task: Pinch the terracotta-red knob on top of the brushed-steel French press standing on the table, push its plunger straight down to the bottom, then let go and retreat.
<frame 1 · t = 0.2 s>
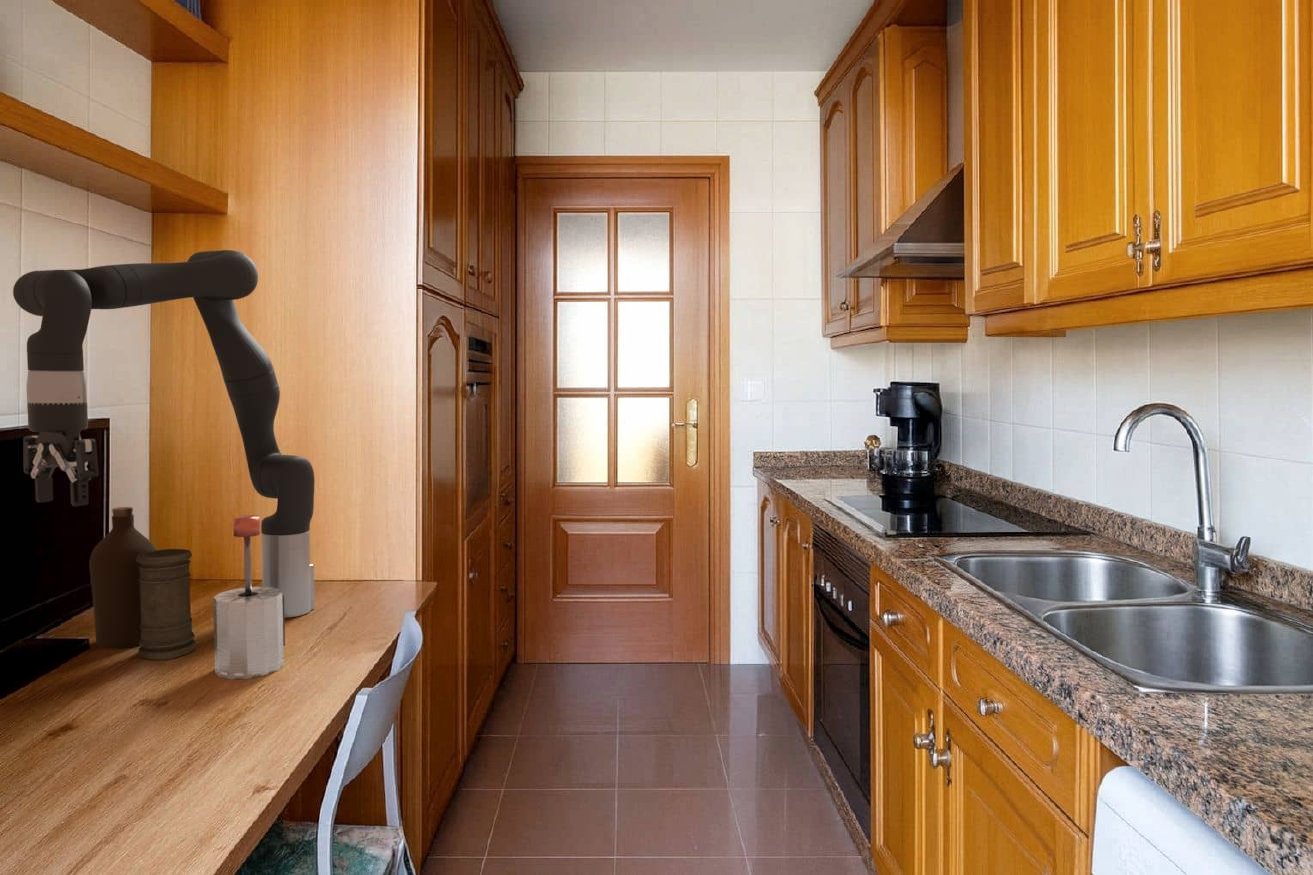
hand: (62, 503, 127), 29 cm above the table, fingers open, 8 cm apart
container: (167, 653, 146), on the table
olive oil: (127, 642, 151), on the table
plunger: (247, 567, 137), point 17 cm above the table, slide at 0.0 cm
press carafe: (249, 668, 138), on the table
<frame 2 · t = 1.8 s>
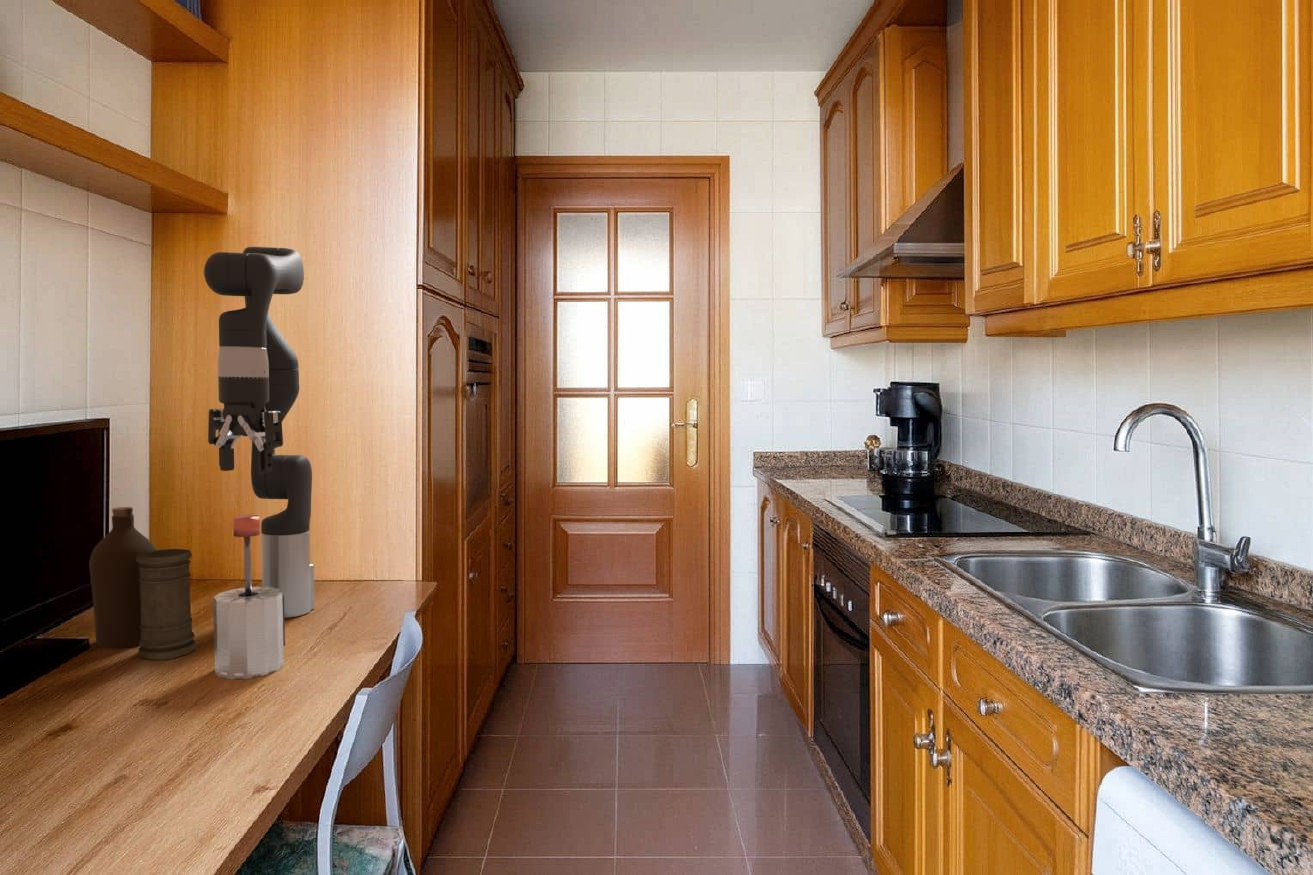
hand: (245, 471, 136), 34 cm above the table, fingers open, 8 cm apart
nothing on the table moved.
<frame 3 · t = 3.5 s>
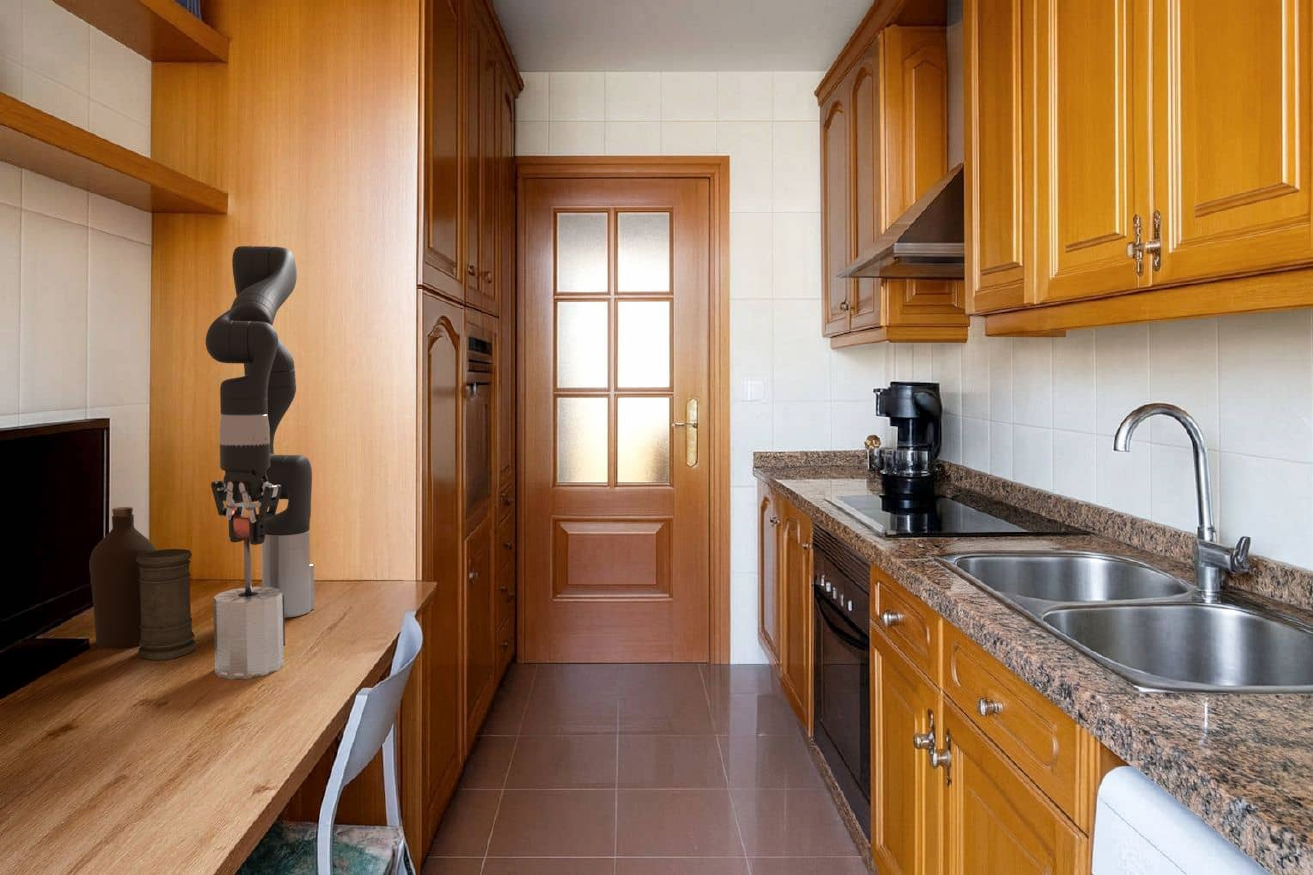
hand: (247, 542, 137), 22 cm above the table, fingers closed on plunger, 4 cm apart
plunger: (247, 567, 137), point 17 cm above the table, slide at 0.0 cm, touching gripper
everything else where it was.
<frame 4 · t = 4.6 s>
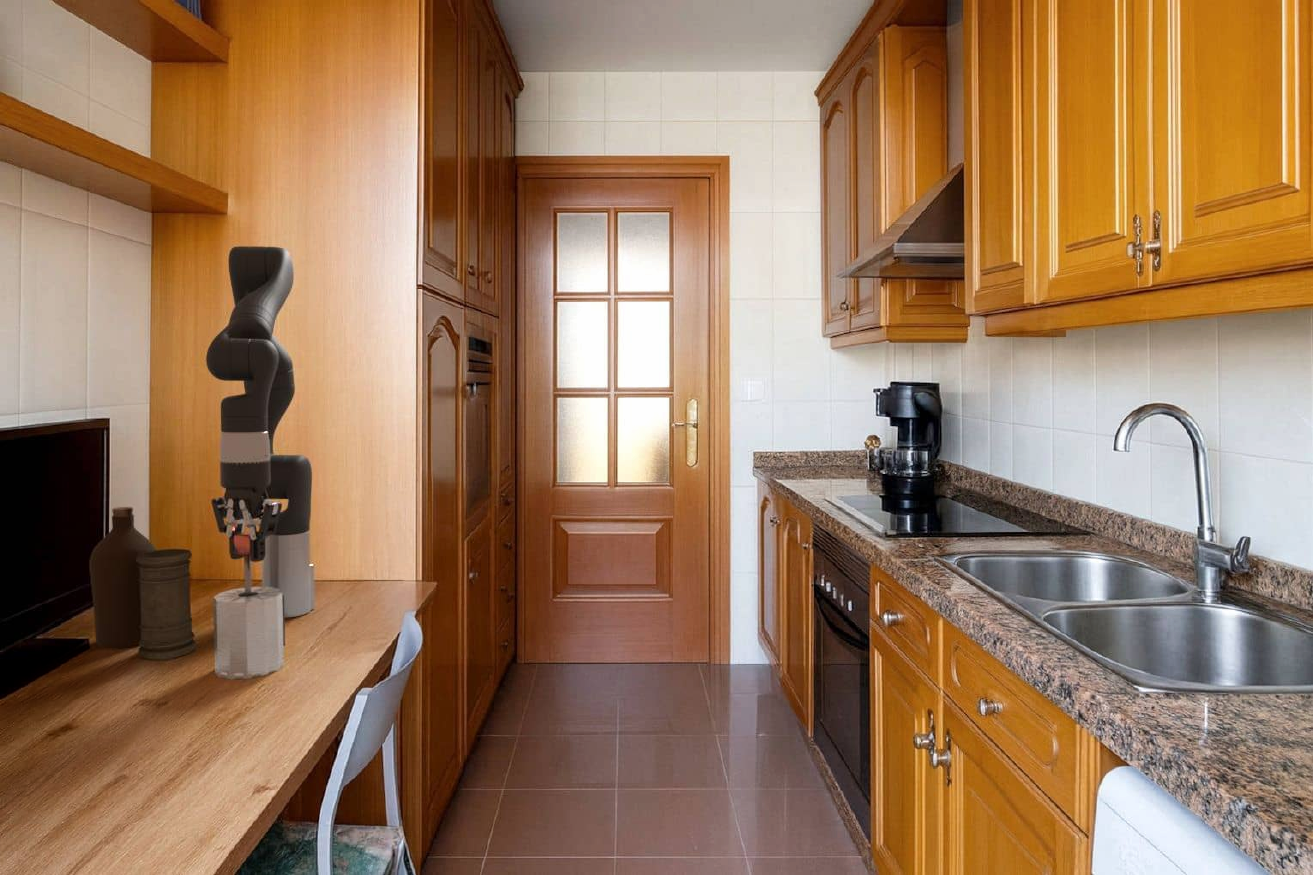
hand: (247, 559, 137), 19 cm above the table, fingers closed on plunger, 4 cm apart
plunger: (248, 584, 137), point 15 cm above the table, slide at 2.9 cm, touching gripper
everything else where it was.
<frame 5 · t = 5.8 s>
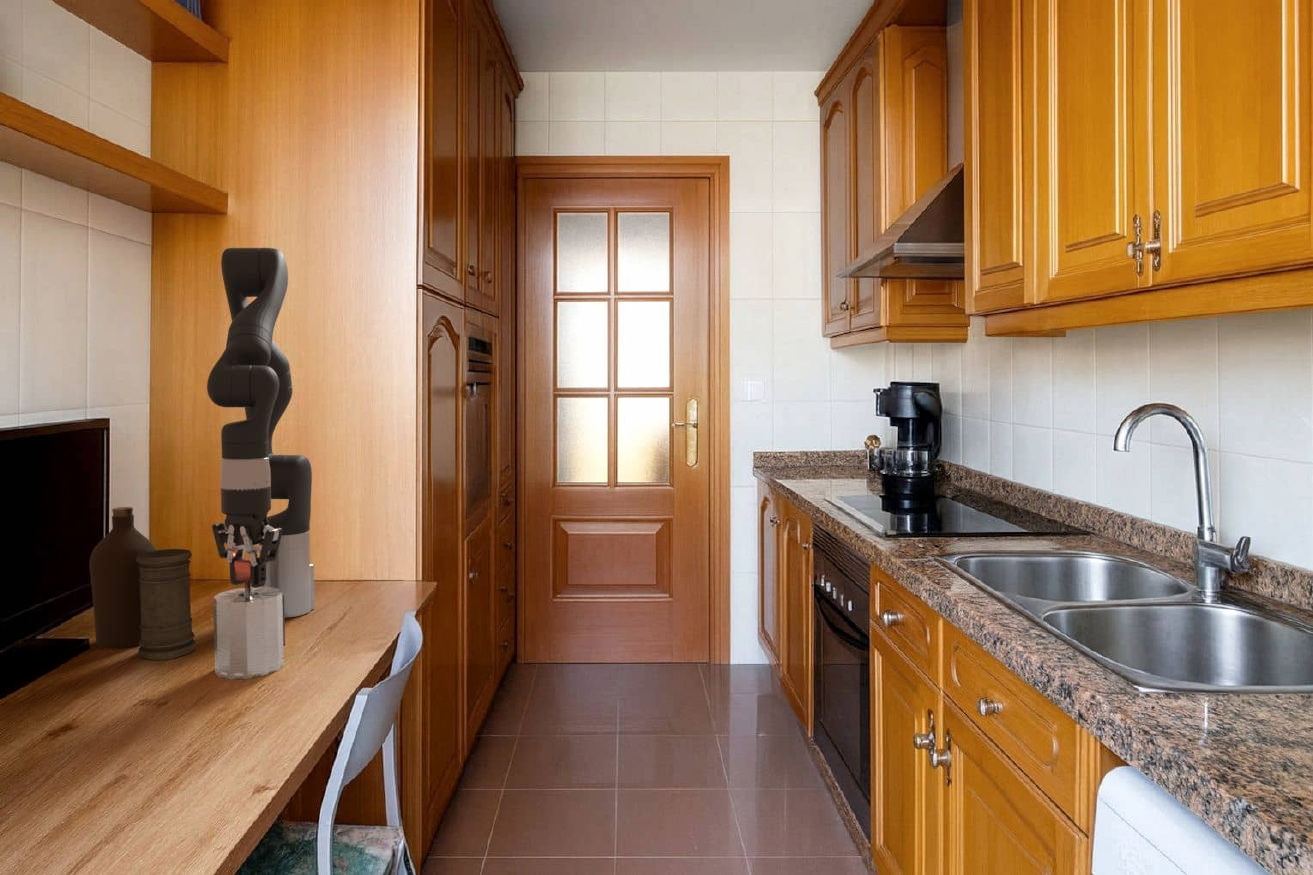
hand: (248, 584, 137), 14 cm above the table, fingers closed on plunger, 4 cm apart
plunger: (248, 609, 138), point 10 cm above the table, slide at 7.3 cm, touching gripper
everything else where it was.
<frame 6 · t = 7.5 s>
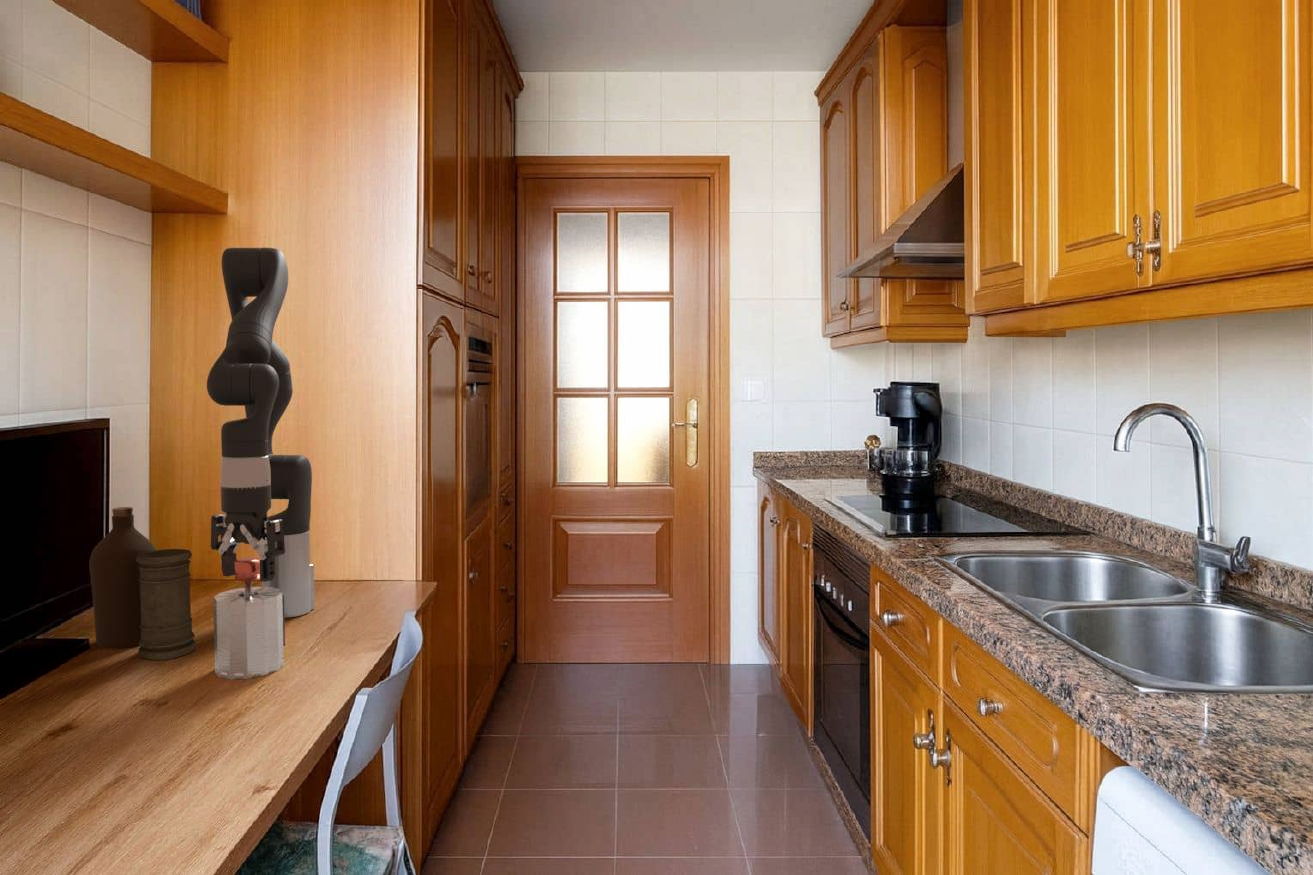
hand: (248, 578, 137), 16 cm above the table, fingers open, 8 cm apart
plunger: (248, 609, 138), point 10 cm above the table, slide at 7.3 cm
everything else where it was.
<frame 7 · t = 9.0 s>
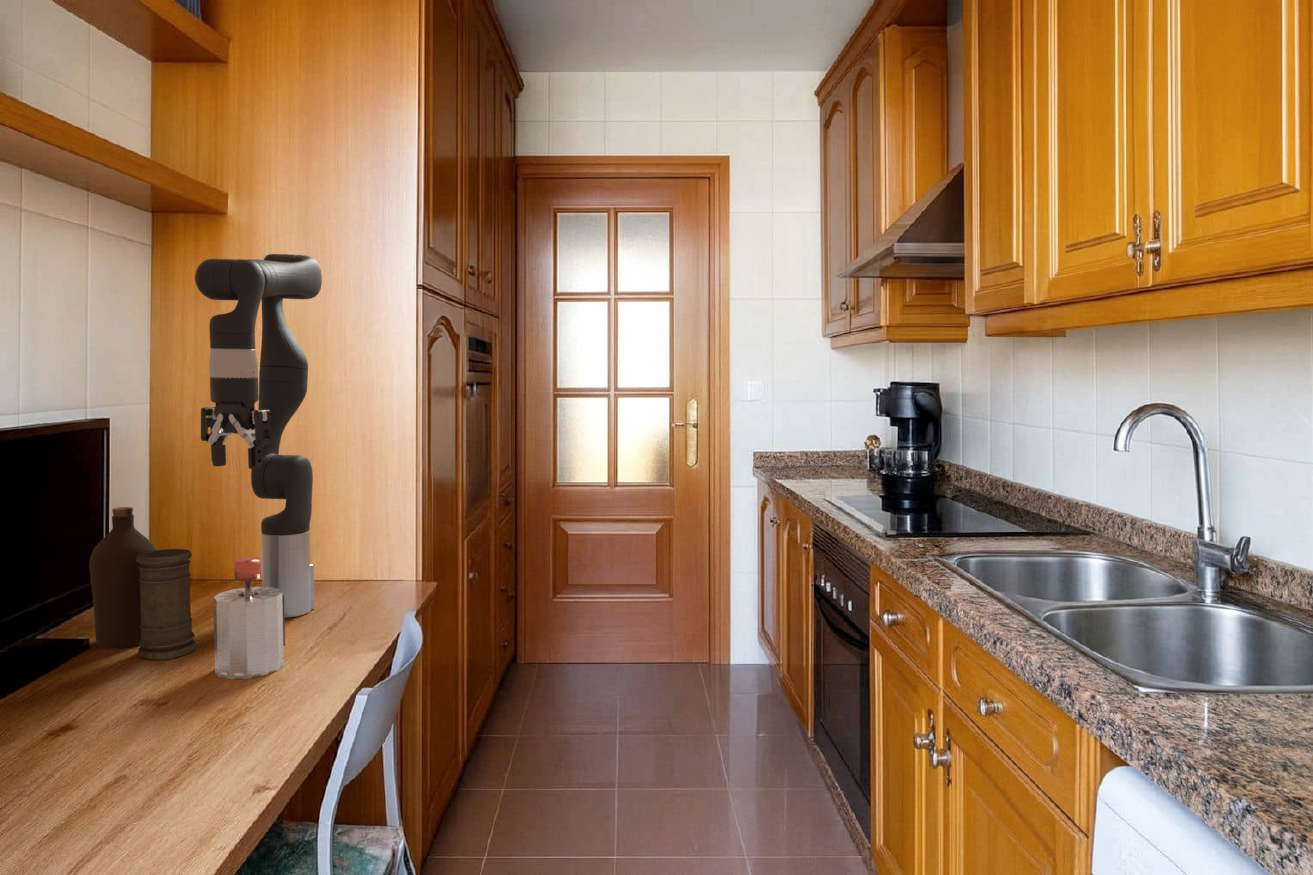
hand: (237, 467, 143), 34 cm above the table, fingers open, 8 cm apart
nothing on the table moved.
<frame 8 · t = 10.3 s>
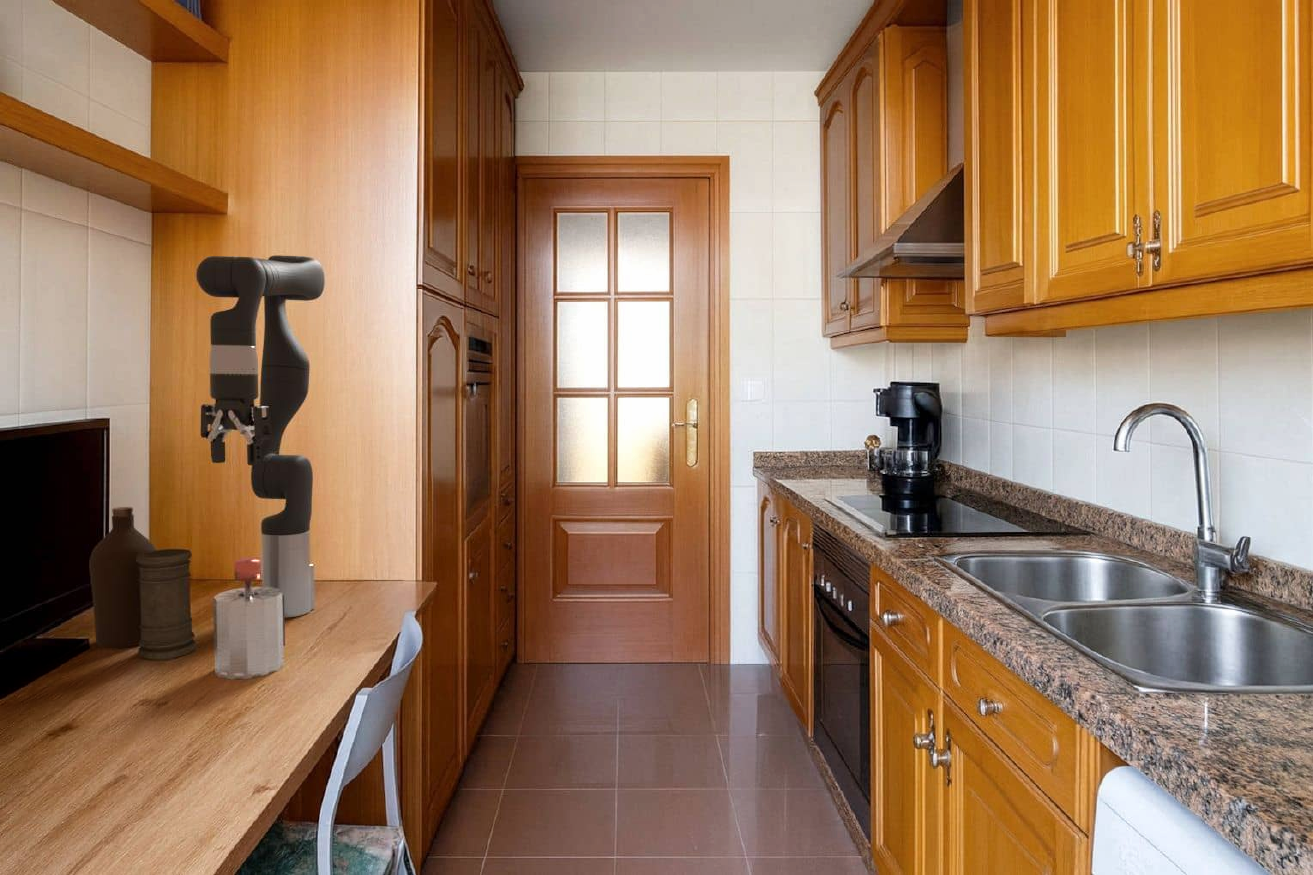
hand: (236, 463, 144), 34 cm above the table, fingers open, 8 cm apart
nothing on the table moved.
at the end: plunger slide at 7.3 cm; the gripper is holding nothing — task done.
